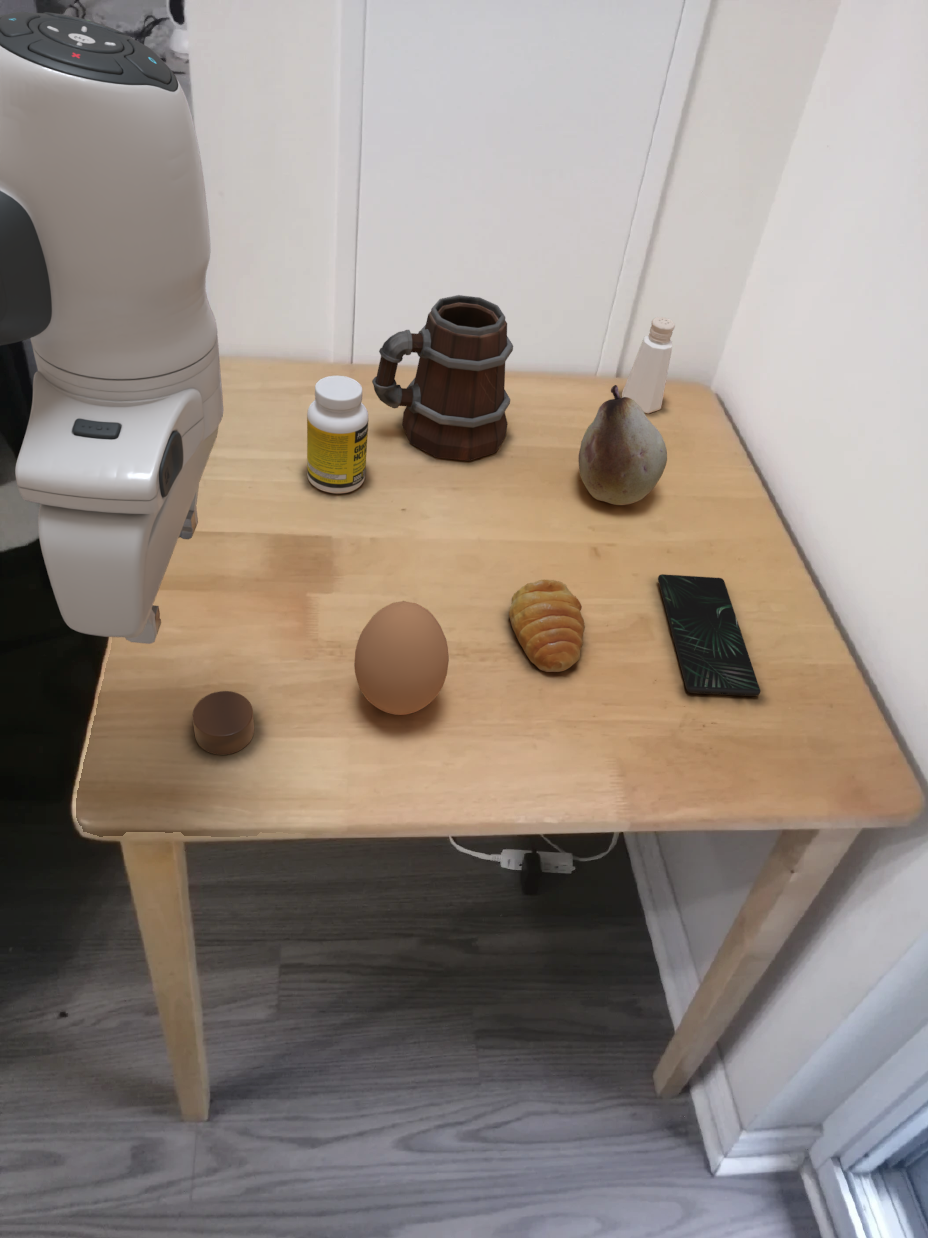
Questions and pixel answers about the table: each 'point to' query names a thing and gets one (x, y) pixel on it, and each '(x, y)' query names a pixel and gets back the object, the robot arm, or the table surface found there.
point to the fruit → (621, 453)
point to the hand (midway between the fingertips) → (164, 580)
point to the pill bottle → (337, 435)
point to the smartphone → (707, 636)
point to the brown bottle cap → (223, 722)
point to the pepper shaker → (651, 367)
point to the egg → (401, 658)
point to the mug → (452, 379)
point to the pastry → (548, 624)
